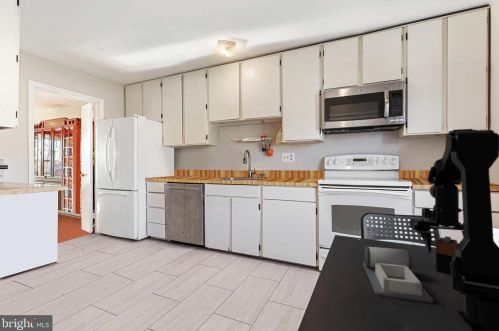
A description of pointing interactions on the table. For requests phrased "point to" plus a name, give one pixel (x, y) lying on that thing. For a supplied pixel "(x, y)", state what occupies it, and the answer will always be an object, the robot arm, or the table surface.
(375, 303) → the table surface
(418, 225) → the robot arm
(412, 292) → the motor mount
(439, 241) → the battery
